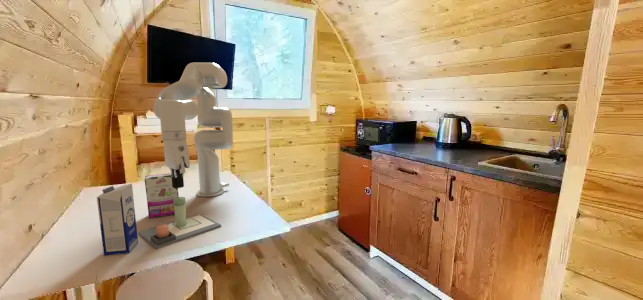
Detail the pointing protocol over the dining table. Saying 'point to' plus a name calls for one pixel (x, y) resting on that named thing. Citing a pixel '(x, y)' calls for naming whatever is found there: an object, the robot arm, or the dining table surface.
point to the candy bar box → (160, 195)
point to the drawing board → (180, 231)
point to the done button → (162, 230)
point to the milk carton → (117, 220)
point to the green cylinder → (180, 211)
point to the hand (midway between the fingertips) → (178, 187)
